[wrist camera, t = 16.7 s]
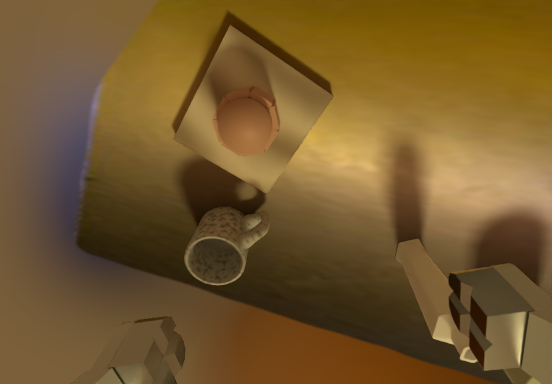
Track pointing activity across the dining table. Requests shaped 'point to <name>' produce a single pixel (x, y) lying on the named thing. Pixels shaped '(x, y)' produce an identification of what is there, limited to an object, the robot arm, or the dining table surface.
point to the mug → (223, 244)
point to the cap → (247, 121)
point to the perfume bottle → (432, 295)
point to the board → (269, 78)
